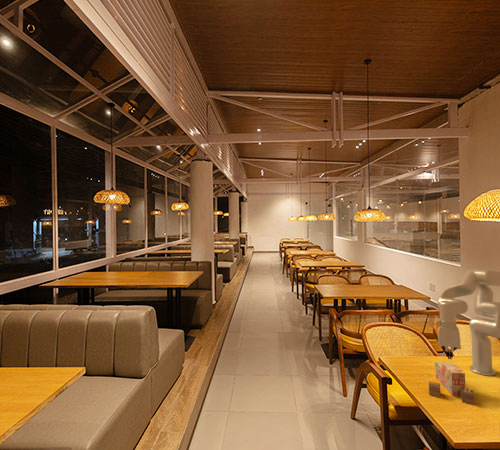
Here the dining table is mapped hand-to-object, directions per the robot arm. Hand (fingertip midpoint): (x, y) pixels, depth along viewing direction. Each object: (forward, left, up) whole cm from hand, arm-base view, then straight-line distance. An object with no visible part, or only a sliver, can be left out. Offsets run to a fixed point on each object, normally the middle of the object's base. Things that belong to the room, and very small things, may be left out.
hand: (449, 358), depth 171 cm
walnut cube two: (+12, +7, -15) cm, 21 cm away
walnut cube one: (+12, -7, -15) cm, 21 cm away
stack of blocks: (0, 0, -16) cm, 16 cm away
